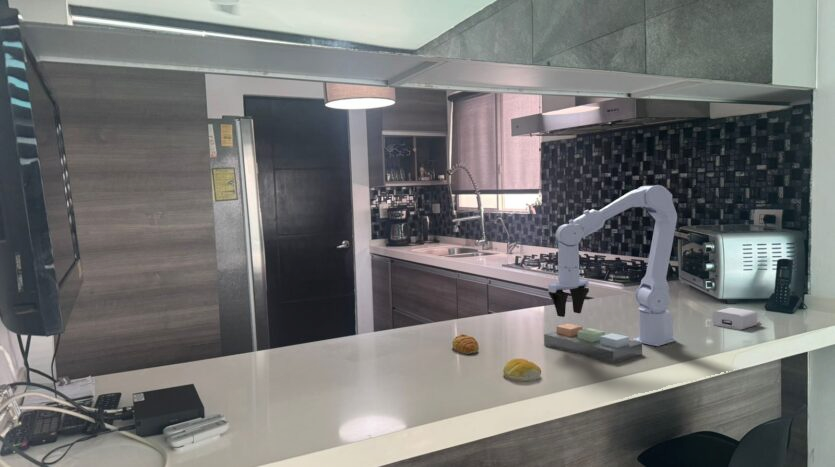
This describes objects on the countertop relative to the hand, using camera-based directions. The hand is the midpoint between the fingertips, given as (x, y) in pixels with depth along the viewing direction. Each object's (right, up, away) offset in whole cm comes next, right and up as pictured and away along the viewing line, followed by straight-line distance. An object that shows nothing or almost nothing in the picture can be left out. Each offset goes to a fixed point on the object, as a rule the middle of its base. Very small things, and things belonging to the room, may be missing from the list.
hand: (569, 314), depth 157 cm
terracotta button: (0, -6, 0) cm, 6 cm away
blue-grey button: (+9, -7, -12) cm, 16 cm away
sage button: (+4, -7, -6) cm, 10 cm away
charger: (+58, -6, +17) cm, 61 cm away
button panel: (+4, -9, -6) cm, 11 cm away
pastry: (-29, -10, -2) cm, 31 cm away
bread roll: (-18, -11, -26) cm, 33 cm away
